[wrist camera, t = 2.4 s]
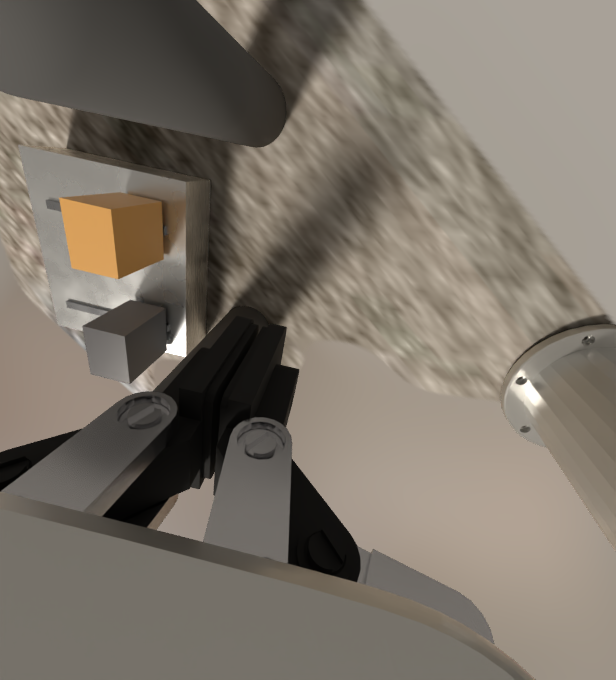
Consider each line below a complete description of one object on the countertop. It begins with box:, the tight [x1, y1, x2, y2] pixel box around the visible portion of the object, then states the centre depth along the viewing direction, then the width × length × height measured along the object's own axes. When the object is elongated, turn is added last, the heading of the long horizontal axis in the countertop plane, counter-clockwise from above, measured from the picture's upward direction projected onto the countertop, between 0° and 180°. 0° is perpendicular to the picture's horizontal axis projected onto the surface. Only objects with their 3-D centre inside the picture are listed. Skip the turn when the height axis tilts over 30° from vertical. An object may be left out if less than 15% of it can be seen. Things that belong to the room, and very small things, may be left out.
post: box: [0, 0, 286, 147], centre depth 14 cm, size 4×4×18 cm
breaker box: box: [18, 145, 211, 357], centre depth 27 cm, size 12×14×4 cm
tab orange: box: [59, 192, 164, 279], centre depth 21 cm, size 3×4×5 cm
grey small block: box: [82, 300, 167, 384], centre depth 24 cm, size 3×4×5 cm
